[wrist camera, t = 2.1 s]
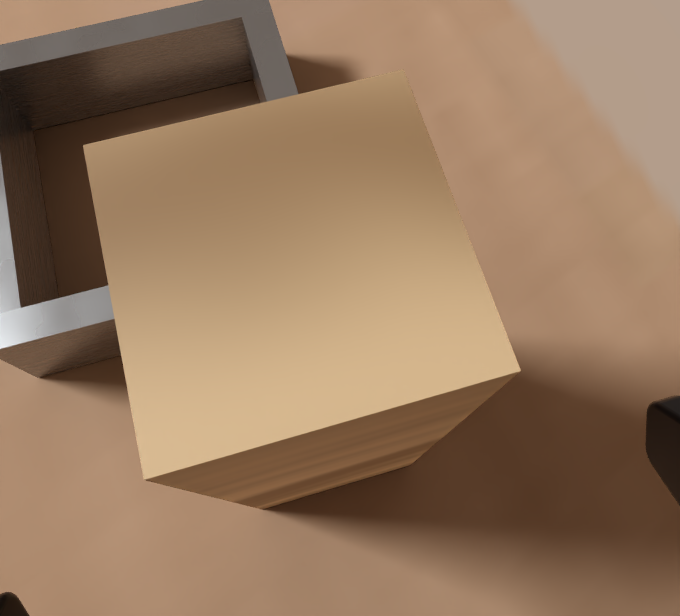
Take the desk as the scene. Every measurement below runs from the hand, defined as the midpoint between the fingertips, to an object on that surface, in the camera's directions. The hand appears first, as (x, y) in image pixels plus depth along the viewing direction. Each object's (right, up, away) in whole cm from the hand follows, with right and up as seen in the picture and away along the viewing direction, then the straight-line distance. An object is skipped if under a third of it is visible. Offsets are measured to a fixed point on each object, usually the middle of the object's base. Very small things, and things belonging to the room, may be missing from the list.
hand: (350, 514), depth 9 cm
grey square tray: (-6, +7, +13) cm, 16 cm away
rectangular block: (-1, 0, +11) cm, 11 cm away
